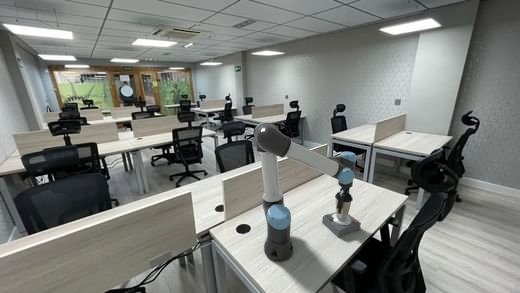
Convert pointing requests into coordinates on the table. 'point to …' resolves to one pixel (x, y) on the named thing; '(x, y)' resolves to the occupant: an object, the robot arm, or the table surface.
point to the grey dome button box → (341, 224)
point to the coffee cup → (344, 205)
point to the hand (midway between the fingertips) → (341, 213)
